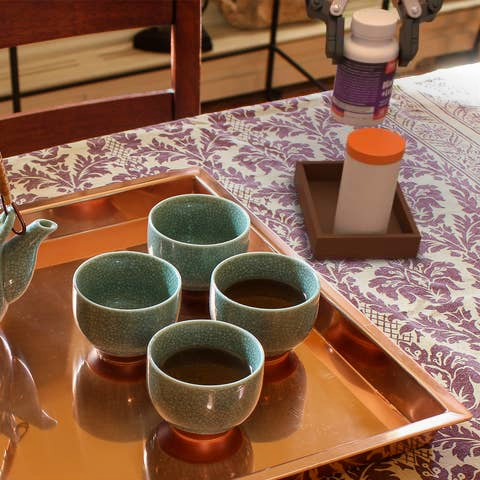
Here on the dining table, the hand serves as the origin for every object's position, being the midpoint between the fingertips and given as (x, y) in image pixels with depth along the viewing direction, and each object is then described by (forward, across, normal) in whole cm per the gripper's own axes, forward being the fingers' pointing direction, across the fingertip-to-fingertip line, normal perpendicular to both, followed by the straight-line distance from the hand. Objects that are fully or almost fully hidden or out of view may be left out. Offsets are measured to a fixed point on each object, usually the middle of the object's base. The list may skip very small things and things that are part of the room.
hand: (371, 62), depth 85 cm
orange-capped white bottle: (+14, +1, +7) cm, 16 cm away
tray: (+12, 0, +10) cm, 16 cm away
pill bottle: (+3, 0, +6) cm, 7 cm away
